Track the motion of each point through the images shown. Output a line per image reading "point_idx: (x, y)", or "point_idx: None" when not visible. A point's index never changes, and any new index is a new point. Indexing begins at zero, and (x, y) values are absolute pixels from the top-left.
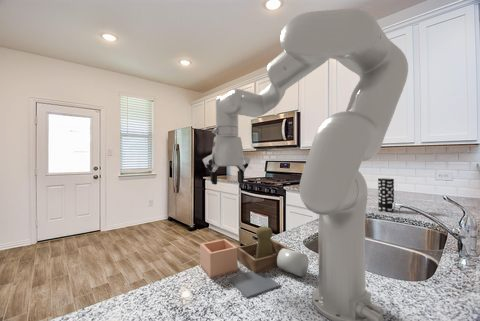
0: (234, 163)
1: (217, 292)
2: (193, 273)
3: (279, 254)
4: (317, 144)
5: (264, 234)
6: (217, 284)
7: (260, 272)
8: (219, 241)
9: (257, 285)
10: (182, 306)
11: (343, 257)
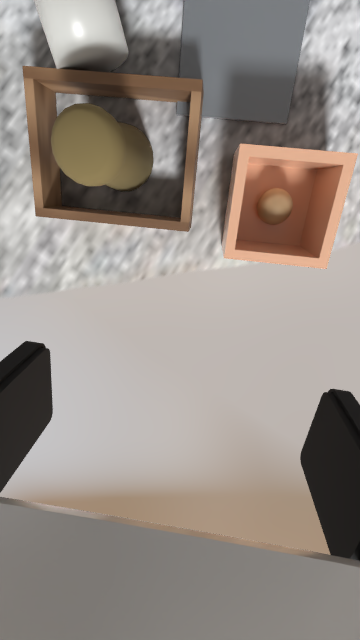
0: (40, 556)
1: (356, 72)
2: (343, 224)
3: (108, 34)
4: None
5: (107, 112)
6: (329, 116)
7: None
8: (253, 251)
9: (246, 14)
10: None
11: None
